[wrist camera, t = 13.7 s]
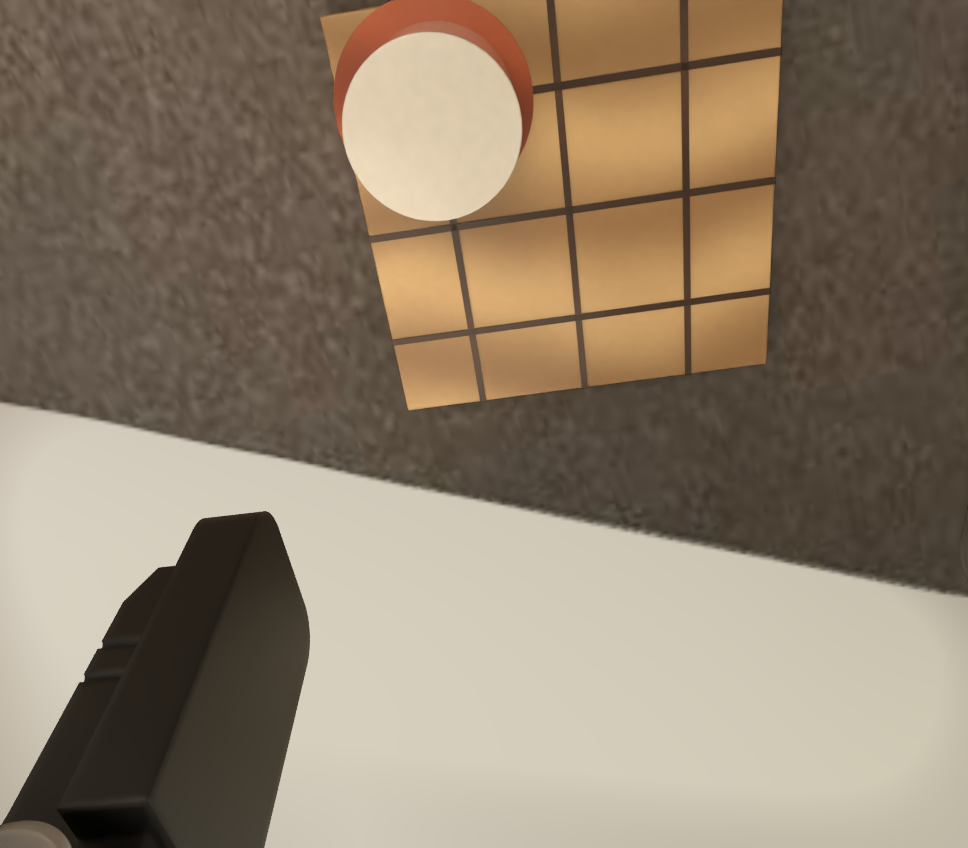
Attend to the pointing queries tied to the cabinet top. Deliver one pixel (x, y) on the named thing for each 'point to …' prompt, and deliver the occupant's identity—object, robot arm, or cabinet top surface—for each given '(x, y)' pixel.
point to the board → (591, 199)
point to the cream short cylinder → (433, 122)
